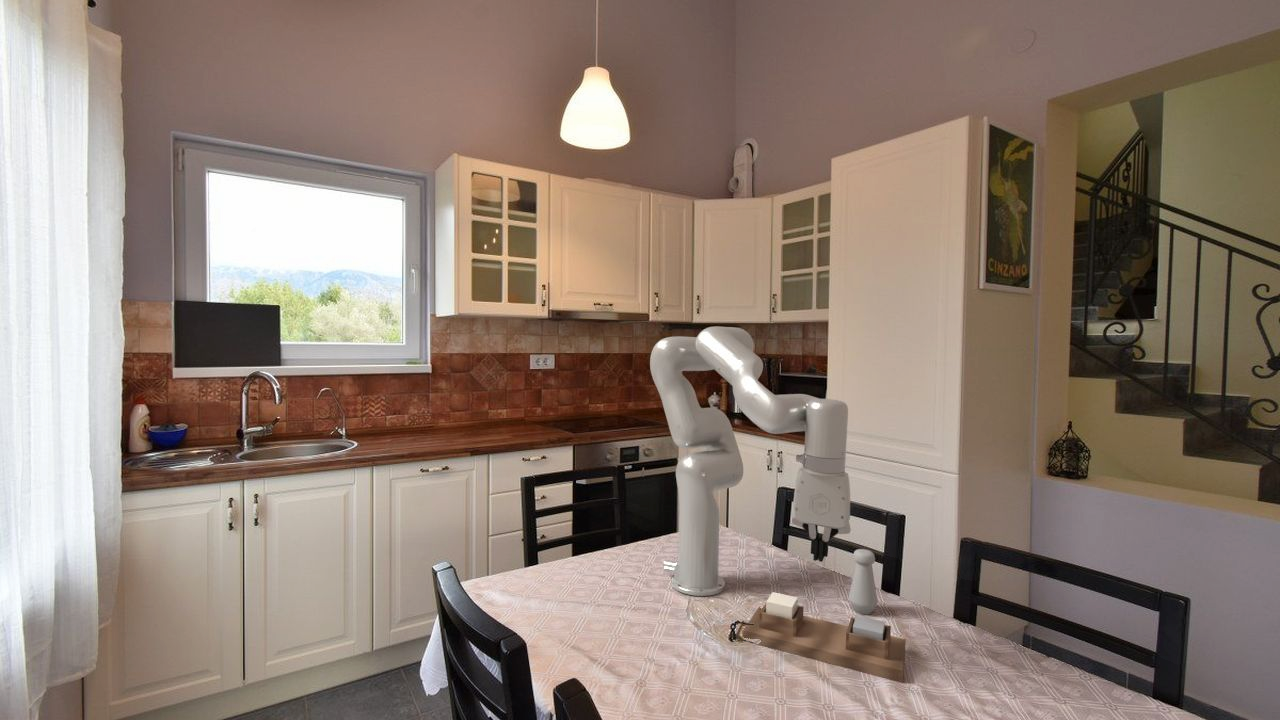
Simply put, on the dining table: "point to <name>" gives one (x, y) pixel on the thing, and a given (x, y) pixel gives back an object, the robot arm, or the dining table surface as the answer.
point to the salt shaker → (863, 583)
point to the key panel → (829, 643)
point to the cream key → (782, 605)
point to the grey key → (869, 627)
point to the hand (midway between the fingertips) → (818, 558)
